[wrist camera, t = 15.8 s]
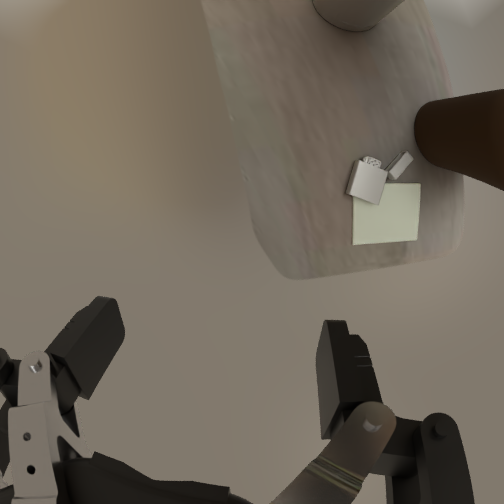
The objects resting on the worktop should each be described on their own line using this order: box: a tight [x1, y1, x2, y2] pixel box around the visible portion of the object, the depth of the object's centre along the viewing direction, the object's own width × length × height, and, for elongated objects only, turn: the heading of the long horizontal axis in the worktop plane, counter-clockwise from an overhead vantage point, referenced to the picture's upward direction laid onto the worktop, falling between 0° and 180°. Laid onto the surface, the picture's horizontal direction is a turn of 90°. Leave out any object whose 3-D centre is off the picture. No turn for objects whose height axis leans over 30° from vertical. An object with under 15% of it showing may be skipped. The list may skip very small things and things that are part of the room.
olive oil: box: [415, 89, 504, 191], centre depth 18 cm, size 11×11×25 cm
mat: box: [352, 183, 421, 245], centre depth 34 cm, size 8×10×1 cm
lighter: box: [346, 150, 413, 205], centre depth 31 cm, size 7×2×8 cm
